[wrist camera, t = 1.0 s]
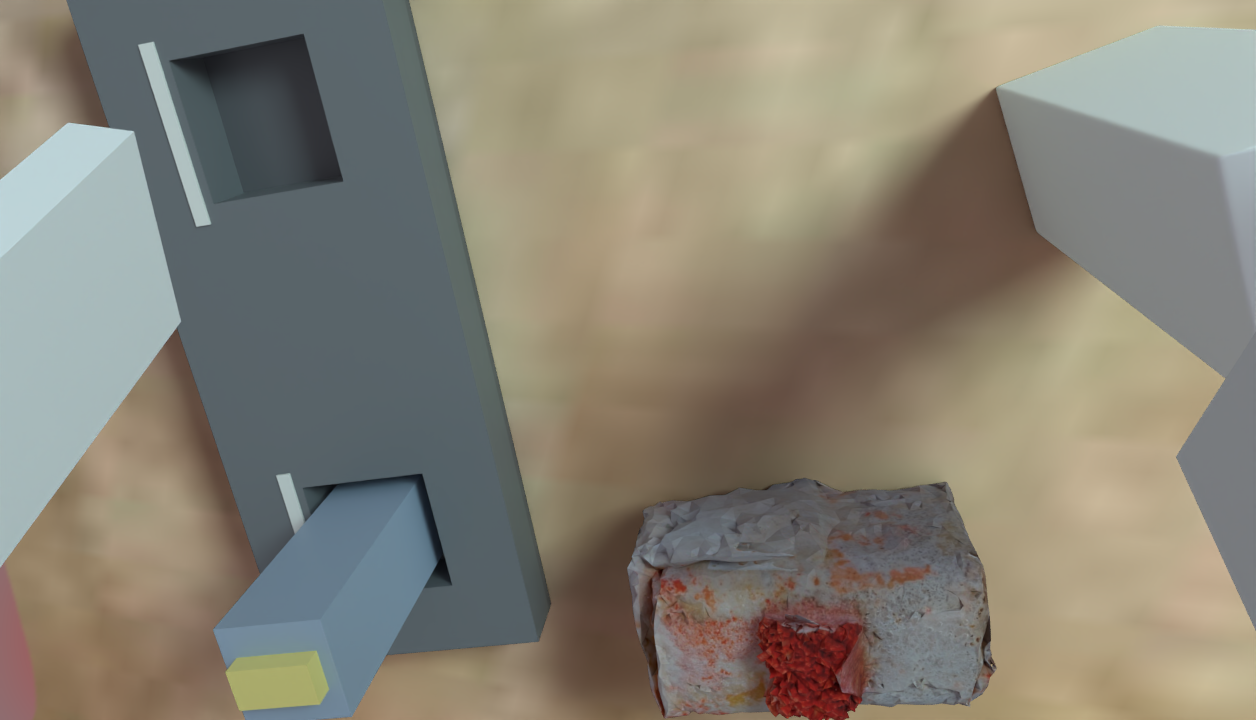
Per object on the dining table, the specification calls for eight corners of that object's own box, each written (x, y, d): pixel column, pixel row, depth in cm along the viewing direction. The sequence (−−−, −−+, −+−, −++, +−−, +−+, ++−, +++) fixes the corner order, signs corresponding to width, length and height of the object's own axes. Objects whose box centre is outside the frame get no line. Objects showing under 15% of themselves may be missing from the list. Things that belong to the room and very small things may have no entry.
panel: (551, 603, 47) (538, 643, 44) (316, 626, 49) (289, 665, 46) (391, -73, 38) (361, -80, 35) (110, -12, 40) (60, -14, 37)
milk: (1035, 232, 39) (1350, 493, 18) (993, 84, 37) (1287, 187, 17) (1198, 176, 38) (1738, 391, 17) (1162, 19, 36) (1711, 46, 15)
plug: (448, 543, 46) (342, 732, 34) (367, 552, 47) (236, 740, 35) (427, 465, 45) (310, 633, 33) (344, 475, 45) (200, 643, 34)
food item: (665, 627, 47) (645, 779, 38) (637, 475, 45) (608, 598, 35) (963, 604, 45) (1019, 758, 36) (952, 443, 42) (1009, 564, 33)
